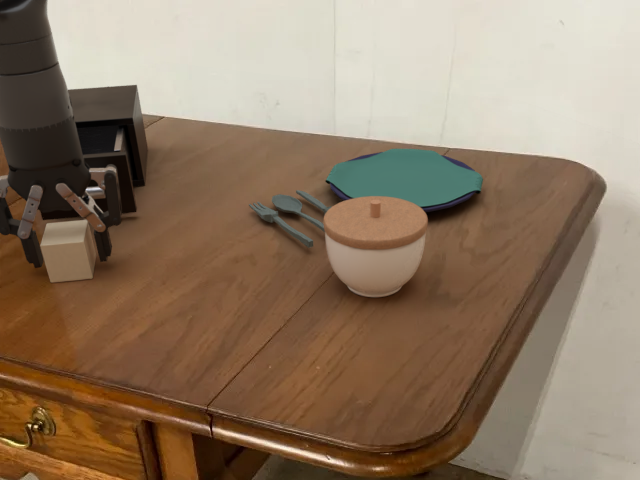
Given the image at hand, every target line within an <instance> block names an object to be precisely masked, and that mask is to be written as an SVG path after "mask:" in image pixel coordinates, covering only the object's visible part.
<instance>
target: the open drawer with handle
mask: <svg viewBox="0 0 640 480" xmlns="http://www.w3.org/2000/svg"><path fill="white" fill-rule="evenodd" d="M77 132H78V137H79V141H80V145H81V150H82V154H83V158H84V160H85V162H86V163H87V164H88V165H89V167H90V168H106V166H107V165H109V164H112V165H114V166H116V168H117V173H118V181H119V189H120V198H121V206H122V214H130V213H132V214H133V213H137V212H138V206H137V201H136V196H135V191H134V187H133V185H132V183H133V174H134V167H133V162H132V157H131V151H130V146H129V141H128V135H127V130H126V125H119V126H105V127H92V128H79V129H77ZM86 191H87V192H88V193H89V194H90V196H91V197H92V198H93V199H94V201H95V203H96V205H97V206H98V207H99V208H100V209H101V210H102V211H103V213H104V212H106V211H108V204H107V197H106V190H102V189H101V188H99V186H98V183H97V182H96V181H95V180H91V181H90V183H89V185H88V187H87V189H86ZM39 212H40V217H41V219H42V221H51V220H62V219H63V220H65V219H73V218H74V219H75V218H82V217H81V216H80V215H79V214H78V213H77V211H76V210H75V209H74V208H72V210H69V211H62V210H54V211H52V212H46V213H42V211H40V210H39Z"/></svg>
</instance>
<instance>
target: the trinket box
mask: <svg viewBox="0 0 640 480" xmlns="http://www.w3.org/2000/svg"><path fill="white" fill-rule="evenodd" d="M323 224H324V230H325V232H324V240H325V242H324V243H325V250H326V255H327V258H328V261H329V265H330V267H331V269H332V271H333V273H334V274H335V276H336V277H337V278H338V279H339V280H340V281H341V282H342V283H343V284H345V285H346V286H347V287H346V288H348V289H349V290H350V292H352V293H353V294H355V295H359V296H361V297H366V298H382V297H387V296H391V295H394V294H396V293H398V292H399V291H400V290H401V289H402V287H403V286H404V285H405V284H407V283H408V282H409V281H410V280H411V279H412V278H413V276H414V275H415V274H416V272H417V271H418V268H419V267H420V265H421V262H422V259H423V255H424V251H425V245H426V237H427V236H426V235H427V229H428V225H429V219H428V215H427V212H424V210H423V209H422V208H420V207H419V206H418V205H416V204H414V203H412V202H409V201H406V200H403V199H399V198H393V197H385V196H368V197H359V198H353V199H349V200H346V201H345V200H343V201H340V202H338V203H335V204H334V205H333V206H331V208H330V209H329V210H328V211H327V212H326V214H325V216H324V215H323Z"/></svg>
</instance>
